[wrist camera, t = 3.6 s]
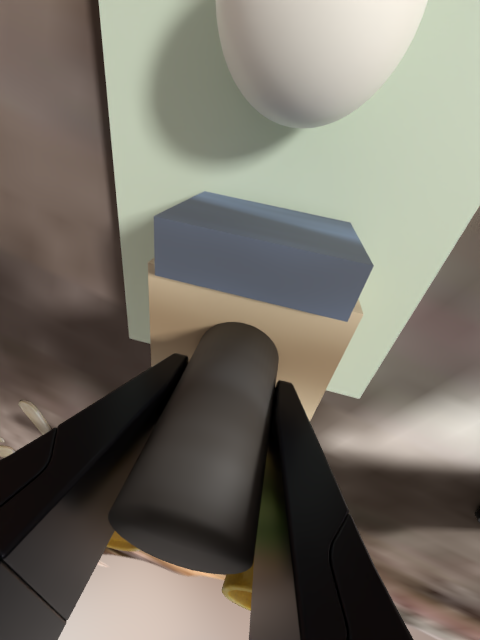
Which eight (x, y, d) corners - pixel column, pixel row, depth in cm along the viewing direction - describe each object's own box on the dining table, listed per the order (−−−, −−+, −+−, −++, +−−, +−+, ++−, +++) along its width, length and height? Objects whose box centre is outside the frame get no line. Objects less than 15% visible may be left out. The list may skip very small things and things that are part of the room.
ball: (360, 143, 8) (396, 144, 5) (229, 117, 8) (179, 103, 5) (436, -80, 6) (604, -363, 3) (253, -102, 6) (191, -382, 3)
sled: (307, 367, 13) (307, 625, 6) (182, 335, 13) (52, 541, 6) (365, 225, 9) (544, 480, 2) (190, 188, 9) (-101, 305, 3)
